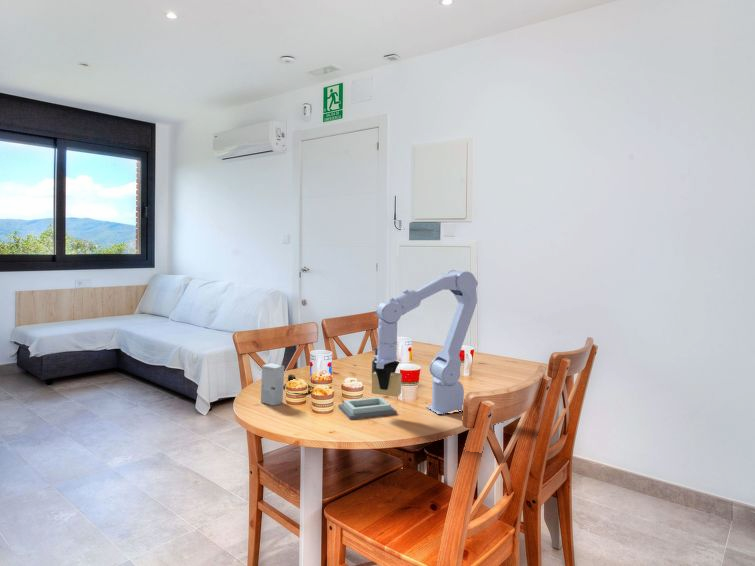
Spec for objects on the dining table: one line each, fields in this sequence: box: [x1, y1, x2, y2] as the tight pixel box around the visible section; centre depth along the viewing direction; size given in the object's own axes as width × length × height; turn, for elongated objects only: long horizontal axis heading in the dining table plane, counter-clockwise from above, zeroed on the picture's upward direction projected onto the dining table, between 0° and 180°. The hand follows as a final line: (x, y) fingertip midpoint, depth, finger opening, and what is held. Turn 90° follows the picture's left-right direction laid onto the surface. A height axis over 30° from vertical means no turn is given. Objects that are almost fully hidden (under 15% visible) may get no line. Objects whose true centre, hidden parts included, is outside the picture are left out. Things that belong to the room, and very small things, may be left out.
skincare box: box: [260, 362, 285, 406], centre depth 152 cm, size 6×4×12 cm
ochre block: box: [371, 371, 403, 398], centre depth 143 cm, size 4×8×6 cm, turn 72°
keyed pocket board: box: [337, 396, 397, 420], centre depth 147 cm, size 15×11×2 cm
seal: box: [283, 374, 312, 394], centre depth 169 cm, size 9×5×15 cm
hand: (385, 387), depth 143 cm, fingers closed on ochre block, 4 cm apart
